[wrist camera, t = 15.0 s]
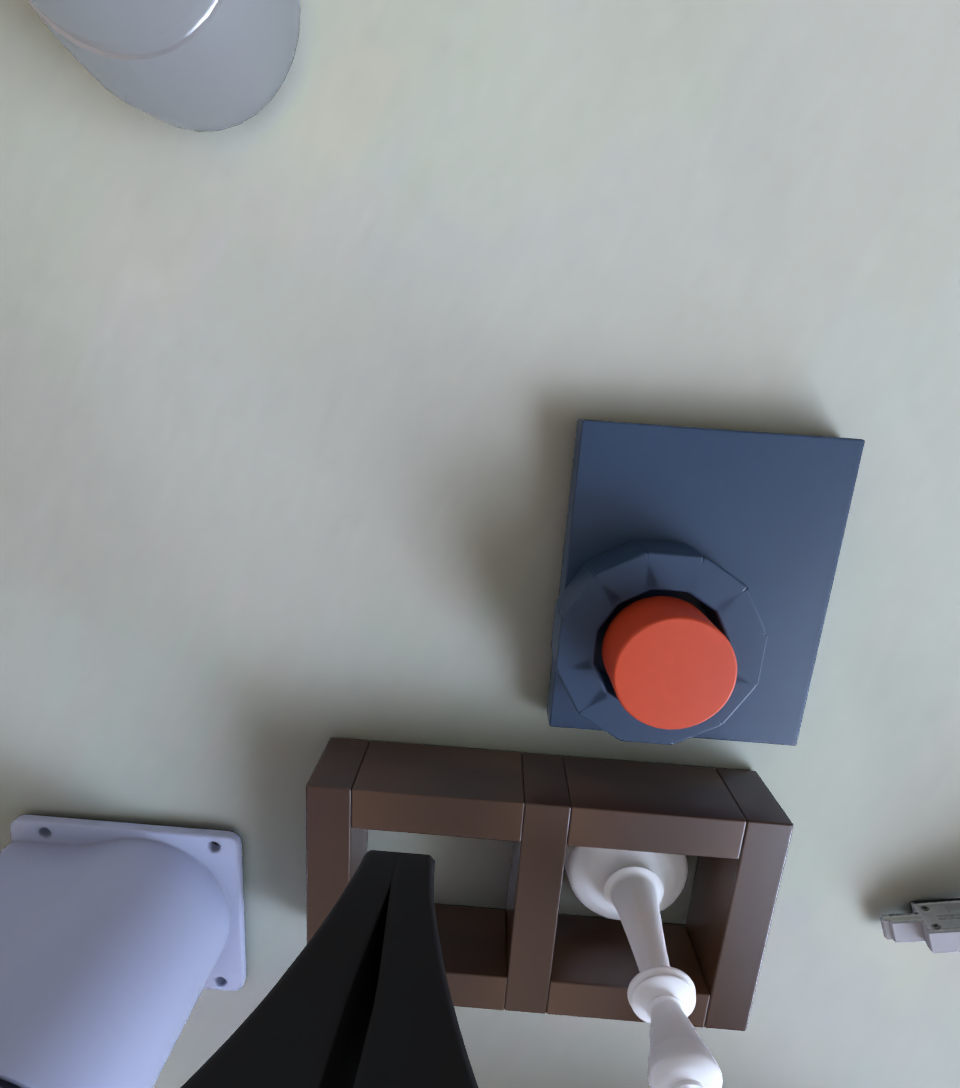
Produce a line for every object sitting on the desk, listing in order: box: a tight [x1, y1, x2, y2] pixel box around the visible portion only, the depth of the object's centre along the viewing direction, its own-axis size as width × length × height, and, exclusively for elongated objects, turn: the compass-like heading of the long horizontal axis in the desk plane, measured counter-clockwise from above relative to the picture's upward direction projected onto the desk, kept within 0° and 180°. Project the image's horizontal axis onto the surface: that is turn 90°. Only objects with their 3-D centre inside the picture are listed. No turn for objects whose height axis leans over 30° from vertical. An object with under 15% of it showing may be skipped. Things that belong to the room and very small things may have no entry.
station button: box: [602, 596, 737, 729], centre depth 17 cm, size 4×4×2 cm
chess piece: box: [564, 845, 723, 1088], centre depth 19 cm, size 5×5×10 cm
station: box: [547, 419, 865, 745], centre depth 19 cm, size 9×11×3 cm
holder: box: [306, 738, 793, 1031], centre depth 22 cm, size 17×9×3 cm, turn 86°
